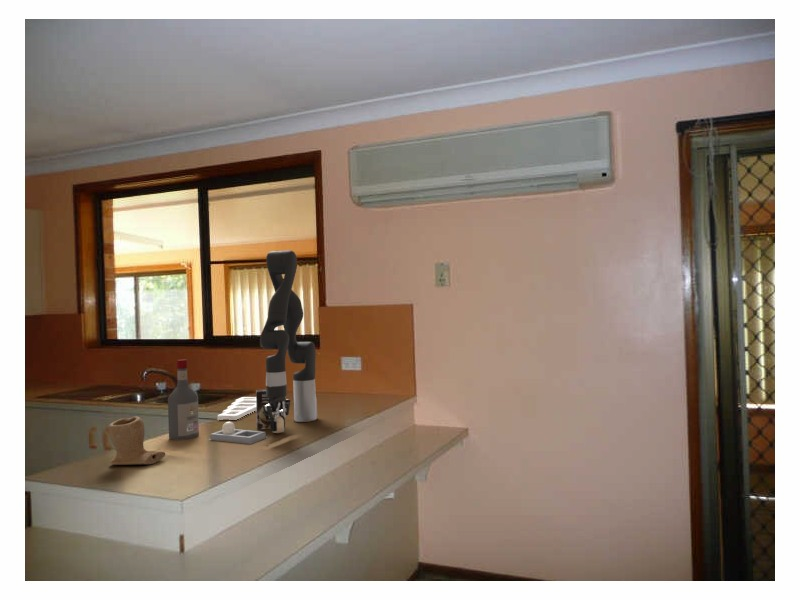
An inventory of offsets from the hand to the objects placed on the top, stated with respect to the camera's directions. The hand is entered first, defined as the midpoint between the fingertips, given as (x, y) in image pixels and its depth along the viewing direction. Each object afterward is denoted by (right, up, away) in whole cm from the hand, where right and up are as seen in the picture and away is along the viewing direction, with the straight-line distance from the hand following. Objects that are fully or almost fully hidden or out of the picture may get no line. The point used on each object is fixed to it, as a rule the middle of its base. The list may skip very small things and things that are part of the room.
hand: (277, 429), depth 212 cm
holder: (-30, -5, +57) cm, 64 cm away
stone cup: (-40, -5, -30) cm, 50 cm away
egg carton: (-13, -4, -5) cm, 15 cm away
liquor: (-35, -4, 0) cm, 35 cm away
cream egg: (-17, -2, -4) cm, 18 cm away
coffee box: (-6, -4, +12) cm, 14 cm away
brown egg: (0, -1, 0) cm, 1 cm away
